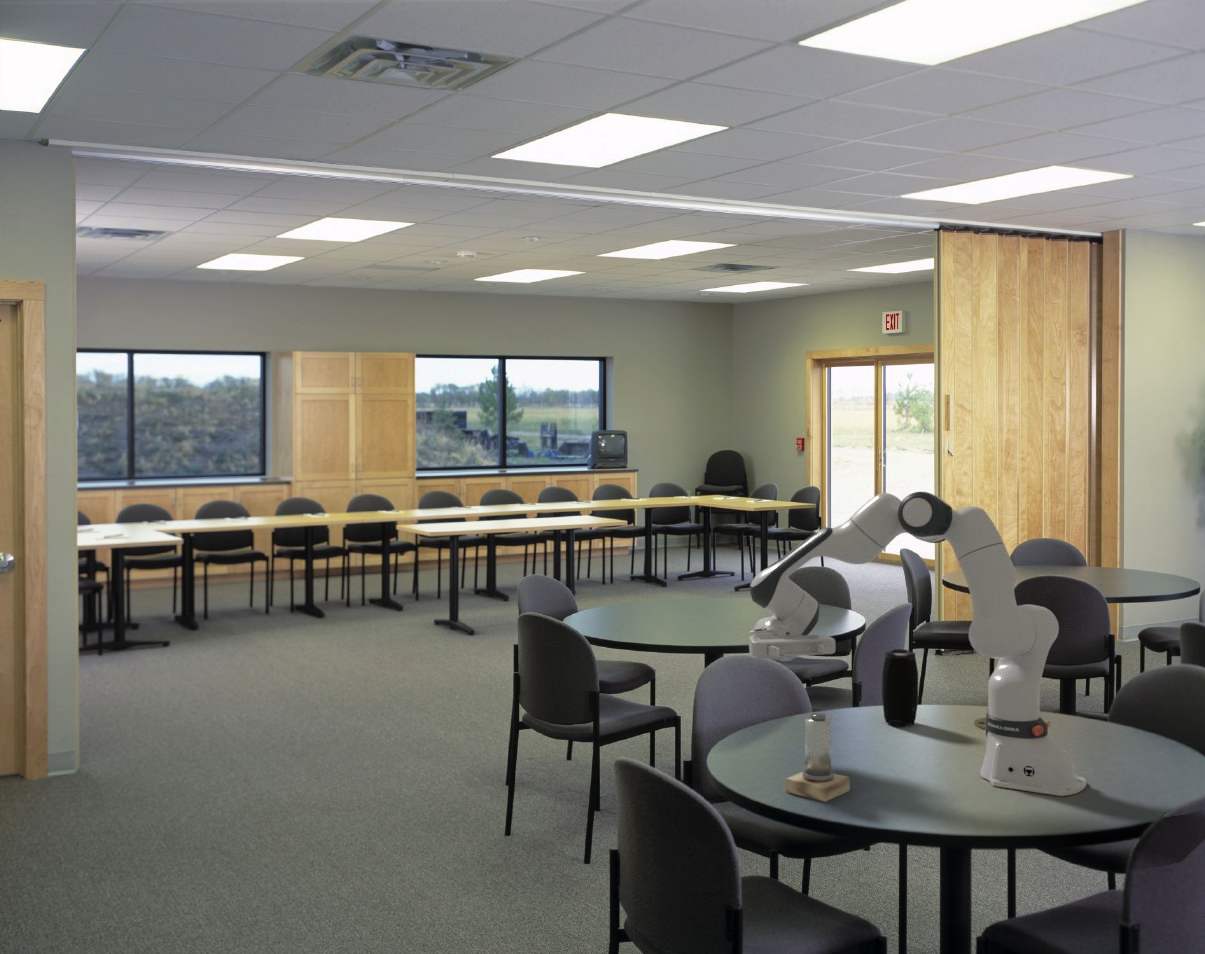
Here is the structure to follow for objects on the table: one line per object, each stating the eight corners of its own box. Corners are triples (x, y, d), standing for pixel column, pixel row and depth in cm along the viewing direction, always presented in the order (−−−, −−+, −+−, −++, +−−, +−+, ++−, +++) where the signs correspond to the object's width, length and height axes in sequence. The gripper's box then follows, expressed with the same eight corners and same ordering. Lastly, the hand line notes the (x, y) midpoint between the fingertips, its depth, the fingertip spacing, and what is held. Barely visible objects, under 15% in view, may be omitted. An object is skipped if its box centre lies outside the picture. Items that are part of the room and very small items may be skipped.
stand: (849, 790, 253) (849, 777, 253) (825, 801, 246) (825, 787, 246) (810, 781, 260) (810, 768, 260) (786, 791, 253) (786, 778, 253)
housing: (836, 775, 255) (836, 712, 254) (829, 783, 249) (829, 719, 248) (806, 771, 257) (806, 709, 257) (799, 780, 251) (799, 716, 251)
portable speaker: (923, 726, 307) (924, 653, 306) (891, 728, 305) (892, 655, 304) (907, 718, 315) (907, 647, 314) (876, 720, 313) (876, 649, 312)
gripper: (825, 652, 279) (844, 663, 266) (743, 656, 277) (758, 667, 263) (825, 627, 279) (844, 636, 265) (743, 630, 277) (758, 640, 263)
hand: (801, 651), depth 264 cm, fingers open, 8 cm apart
